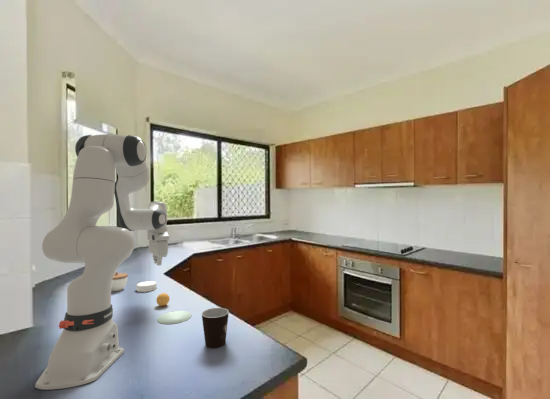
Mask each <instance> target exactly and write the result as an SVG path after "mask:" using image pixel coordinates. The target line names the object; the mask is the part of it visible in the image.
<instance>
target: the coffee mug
mask: <svg viewBox="0 0 550 399" xmlns="http://www.w3.org/2000/svg"><path fill="white" fill-rule="evenodd" d="M229 311H230V310H229V309H227V308H226V307H225V308H223V307H211V308H208V309H205V310H204V311H202V312H201V318H202V328H203V336H204V337H203V338H204V342H205V343H204V344H205V347H206V348H208V349H219V348H222V347H224V346H225V345H226V340H227V332H228V323H229V322H228V321H229Z"/></svg>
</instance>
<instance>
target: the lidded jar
mask: <svg viewBox="0 0 550 399" xmlns="http://www.w3.org/2000/svg"><path fill="white" fill-rule="evenodd" d="M127 283H128V273H125V272H119V273H118V271H115V274H114V276H113V279H112V287H111V292H119V291H122V290H124V288H125V287H126V286H127Z"/></svg>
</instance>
